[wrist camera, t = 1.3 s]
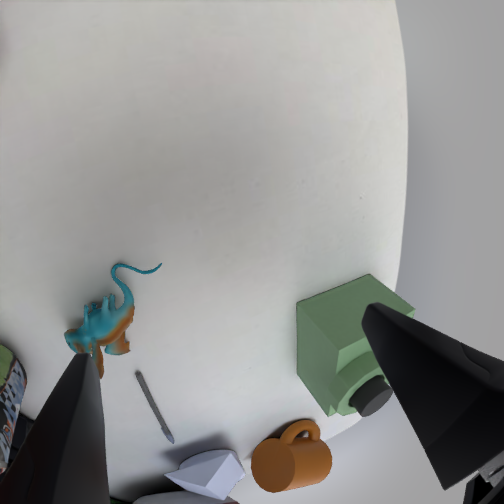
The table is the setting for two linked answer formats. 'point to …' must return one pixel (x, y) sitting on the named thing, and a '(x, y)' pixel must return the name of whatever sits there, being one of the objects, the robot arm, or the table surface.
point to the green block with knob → (340, 341)
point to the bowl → (182, 499)
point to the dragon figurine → (105, 325)
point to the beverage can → (9, 400)
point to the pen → (154, 407)
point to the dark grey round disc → (371, 396)
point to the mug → (291, 459)
